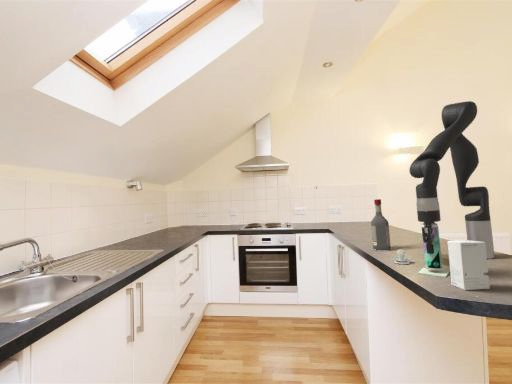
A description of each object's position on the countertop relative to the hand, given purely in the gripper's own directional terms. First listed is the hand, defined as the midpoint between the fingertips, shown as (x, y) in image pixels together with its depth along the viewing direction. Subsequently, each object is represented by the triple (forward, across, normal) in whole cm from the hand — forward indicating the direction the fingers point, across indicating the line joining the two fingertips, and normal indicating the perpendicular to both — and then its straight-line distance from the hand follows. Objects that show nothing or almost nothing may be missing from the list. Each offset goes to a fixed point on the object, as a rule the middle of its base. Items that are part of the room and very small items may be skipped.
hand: (432, 252), depth 100 cm
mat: (+8, 0, 0) cm, 8 cm away
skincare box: (+8, +13, +12) cm, 20 cm away
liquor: (+8, -41, -33) cm, 53 cm away
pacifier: (+8, -11, -14) cm, 20 cm away
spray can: (+7, 0, 0) cm, 7 cm away
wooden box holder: (+8, -10, +2) cm, 13 cm away
